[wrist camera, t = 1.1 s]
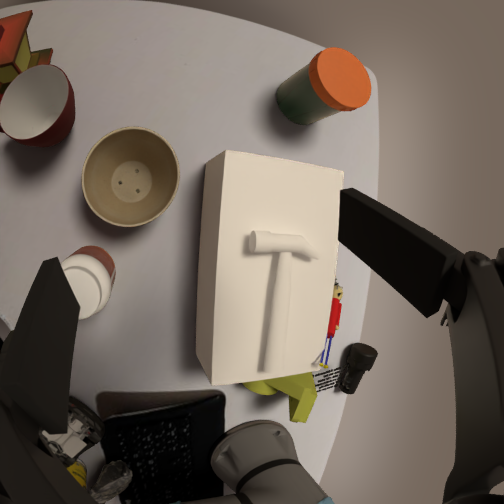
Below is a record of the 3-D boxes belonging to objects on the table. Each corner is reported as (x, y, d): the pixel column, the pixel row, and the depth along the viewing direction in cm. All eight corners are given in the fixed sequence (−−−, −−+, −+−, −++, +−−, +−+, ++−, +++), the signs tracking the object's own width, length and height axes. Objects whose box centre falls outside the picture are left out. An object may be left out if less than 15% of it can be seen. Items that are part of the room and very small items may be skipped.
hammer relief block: (306, 177, 41) (356, 169, 31) (289, 344, 44) (330, 377, 34) (205, 162, 36) (233, 145, 26) (195, 353, 39) (217, 396, 29)
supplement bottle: (92, 472, 34) (92, 514, 25) (67, 475, 33) (65, 515, 24) (77, 453, 33) (73, 495, 24) (51, 455, 32) (45, 496, 22)
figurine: (318, 359, 33) (333, 275, 44) (310, 366, 35) (327, 284, 46) (336, 366, 33) (348, 282, 44) (327, 372, 35) (341, 290, 46)
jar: (325, 124, 42) (372, 107, 32) (282, 126, 39) (325, 105, 30) (315, 79, 40) (358, 55, 30) (271, 78, 38) (310, 47, 28)
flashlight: (352, 372, 54) (368, 335, 50) (367, 389, 49) (386, 353, 46) (286, 392, 48) (298, 353, 44) (300, 414, 43) (315, 376, 40)
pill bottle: (65, 248, 31) (38, 264, 21) (112, 241, 33) (101, 254, 23) (74, 297, 32) (53, 331, 22) (120, 291, 34) (114, 323, 24)
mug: (14, 171, 27) (-21, 160, 18) (11, 113, 25) (-19, 87, 16) (88, 147, 30) (71, 126, 21) (83, 90, 29) (69, 54, 20)
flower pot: (84, 156, 30) (72, 143, 24) (161, 133, 34) (167, 116, 27) (103, 234, 33) (95, 240, 26) (180, 210, 36) (190, 210, 29)
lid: (367, 112, 33) (377, 109, 32) (316, 111, 31) (326, 106, 29) (352, 57, 32) (361, 52, 30) (301, 49, 29) (309, 43, 27)
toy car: (64, 471, 29) (72, 456, 34) (106, 435, 30) (115, 418, 34) (28, 441, 28) (38, 427, 33) (62, 398, 29) (74, 383, 33)
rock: (62, 501, 31) (74, 519, 29) (94, 455, 30) (110, 480, 28) (97, 492, 39) (109, 508, 37) (138, 446, 38) (153, 466, 36)
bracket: (301, 392, 45) (243, 377, 46) (313, 360, 45) (253, 344, 46) (306, 427, 34) (233, 410, 35) (322, 391, 34) (245, 372, 35)
